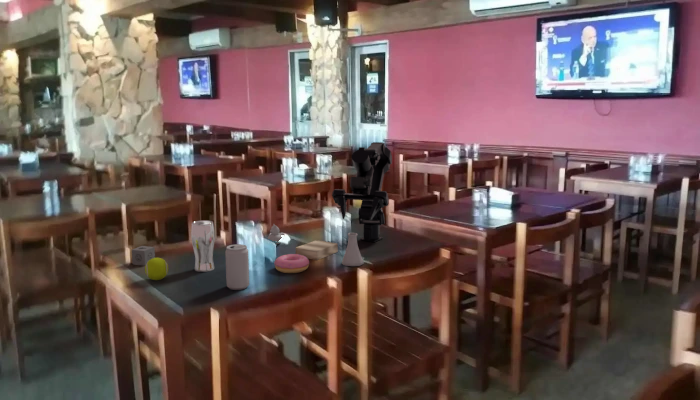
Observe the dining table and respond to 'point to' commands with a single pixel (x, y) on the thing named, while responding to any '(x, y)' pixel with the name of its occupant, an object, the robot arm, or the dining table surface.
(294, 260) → the doughnut
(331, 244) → the foundation block
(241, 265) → the beverage can
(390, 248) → the dining table surface
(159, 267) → the tennis ball
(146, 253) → the dice cube
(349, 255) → the flask
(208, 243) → the beer glass
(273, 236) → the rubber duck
